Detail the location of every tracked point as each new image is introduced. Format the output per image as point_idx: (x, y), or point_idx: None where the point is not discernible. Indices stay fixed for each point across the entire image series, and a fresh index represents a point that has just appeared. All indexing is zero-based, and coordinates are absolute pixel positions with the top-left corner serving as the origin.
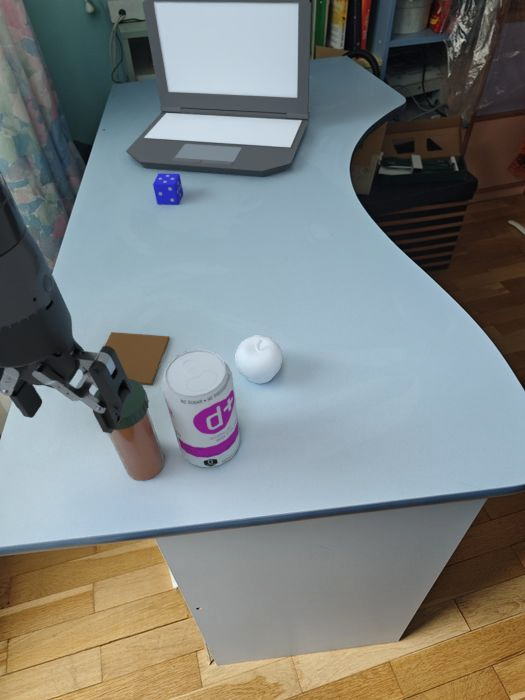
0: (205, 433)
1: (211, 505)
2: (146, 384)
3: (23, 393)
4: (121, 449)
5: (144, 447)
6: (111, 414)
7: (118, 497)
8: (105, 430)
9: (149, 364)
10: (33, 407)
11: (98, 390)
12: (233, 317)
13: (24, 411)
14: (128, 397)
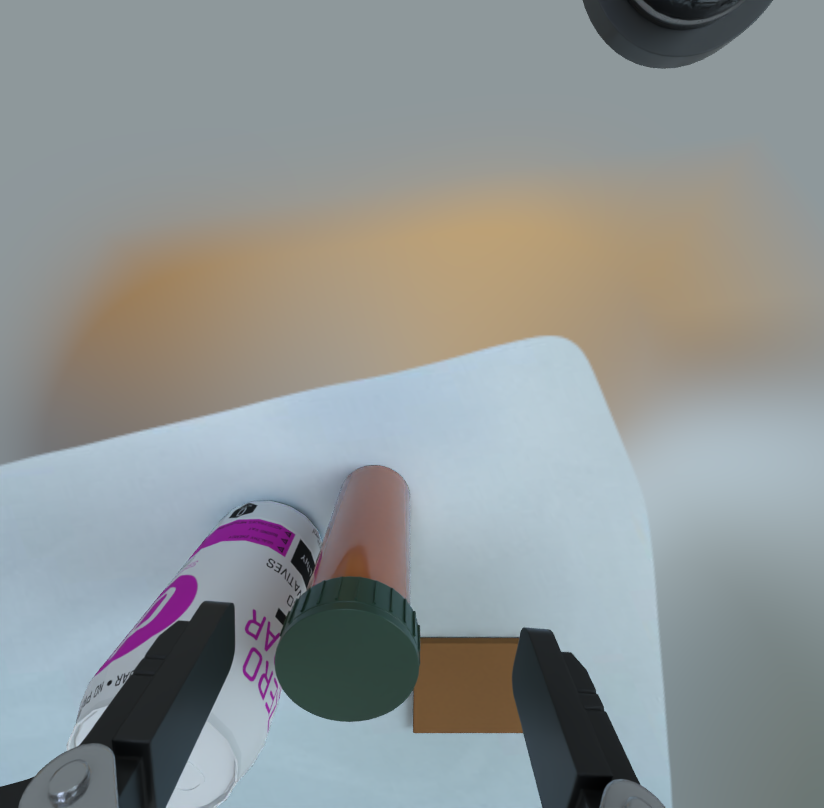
0: (191, 576)
1: (232, 436)
2: (424, 638)
3: (557, 773)
4: (371, 522)
5: (330, 531)
6: (107, 713)
7: (401, 432)
8: (206, 614)
9: (430, 677)
10: (525, 671)
11: (411, 684)
12: (310, 774)
13: (545, 663)
14: (320, 672)
